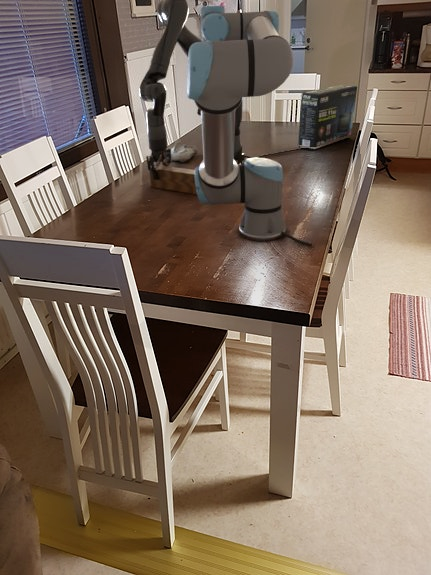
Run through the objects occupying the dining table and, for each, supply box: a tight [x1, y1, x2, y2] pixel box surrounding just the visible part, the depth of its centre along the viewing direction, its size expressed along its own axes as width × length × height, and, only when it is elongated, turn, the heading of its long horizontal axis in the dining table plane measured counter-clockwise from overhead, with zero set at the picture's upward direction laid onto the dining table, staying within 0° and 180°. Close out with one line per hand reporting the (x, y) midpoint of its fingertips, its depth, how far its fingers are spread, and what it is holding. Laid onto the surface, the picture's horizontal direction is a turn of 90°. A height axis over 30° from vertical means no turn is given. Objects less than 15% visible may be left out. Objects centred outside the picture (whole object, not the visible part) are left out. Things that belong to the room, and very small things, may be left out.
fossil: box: [167, 142, 199, 163], centre depth 229 cm, size 18×11×15 cm
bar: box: [149, 164, 197, 195], centre depth 187 cm, size 24×5×8 cm, turn 60°
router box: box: [297, 84, 358, 151], centre depth 238 cm, size 36×11×27 cm, turn 134°
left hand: (161, 177), depth 191 cm, fingers open, 6 cm apart
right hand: (216, 131), depth 156 cm, fingers open, 13 cm apart
